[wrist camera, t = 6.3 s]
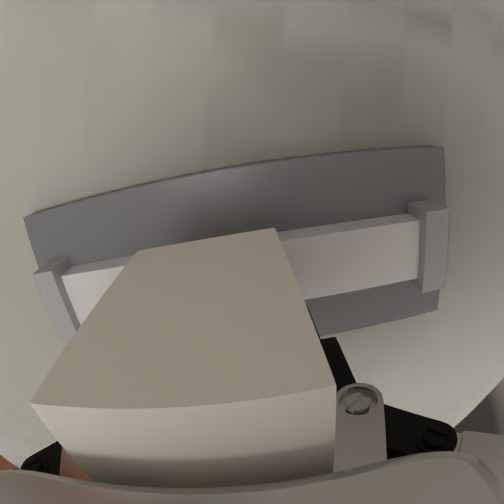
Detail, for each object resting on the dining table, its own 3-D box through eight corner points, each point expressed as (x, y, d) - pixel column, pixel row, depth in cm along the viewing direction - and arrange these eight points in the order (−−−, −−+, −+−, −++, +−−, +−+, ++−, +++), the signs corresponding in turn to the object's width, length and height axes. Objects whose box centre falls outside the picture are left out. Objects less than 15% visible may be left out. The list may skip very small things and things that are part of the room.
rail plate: (433, 145, 17) (464, 150, 14) (429, 301, 21) (452, 325, 18) (33, 213, 18) (3, 228, 14) (84, 350, 21) (67, 379, 18)
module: (274, 227, 11) (361, 453, 3) (295, 392, 14) (332, 570, 6) (137, 250, 11) (2, 451, 3) (190, 405, 14) (172, 578, 6)
